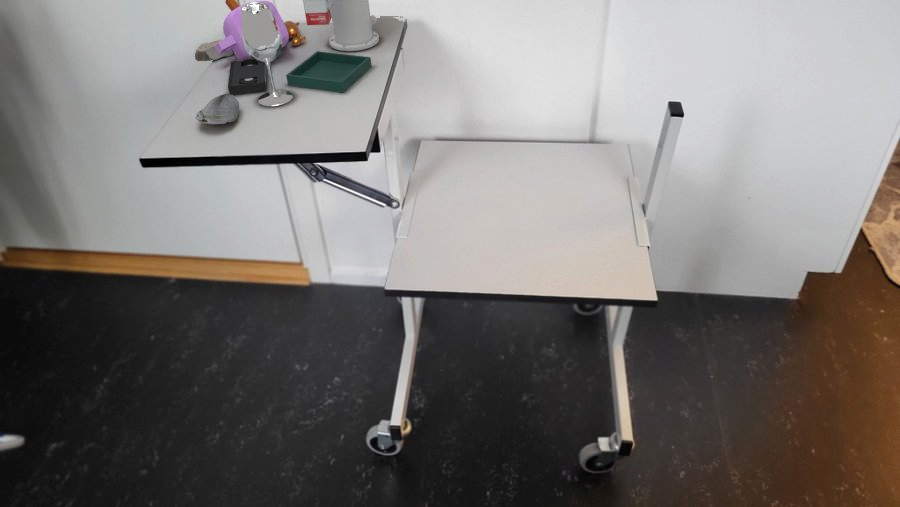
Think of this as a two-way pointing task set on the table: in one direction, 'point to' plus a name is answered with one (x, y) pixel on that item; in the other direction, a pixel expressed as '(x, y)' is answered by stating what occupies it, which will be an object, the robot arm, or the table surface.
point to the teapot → (235, 32)
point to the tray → (329, 71)
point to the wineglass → (263, 45)
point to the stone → (210, 52)
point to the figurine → (294, 32)
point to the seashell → (219, 110)
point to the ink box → (318, 11)
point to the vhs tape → (247, 76)
